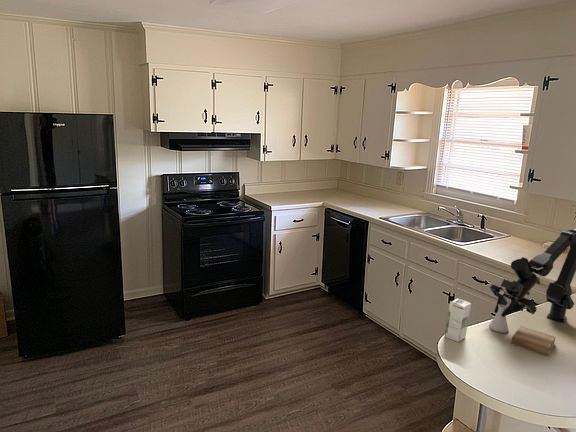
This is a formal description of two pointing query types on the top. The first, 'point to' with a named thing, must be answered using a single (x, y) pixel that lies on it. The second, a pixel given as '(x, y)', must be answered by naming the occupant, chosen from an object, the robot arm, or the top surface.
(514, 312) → the robot arm
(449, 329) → the syrup box
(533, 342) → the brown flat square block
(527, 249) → the top surface
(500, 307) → the flask
